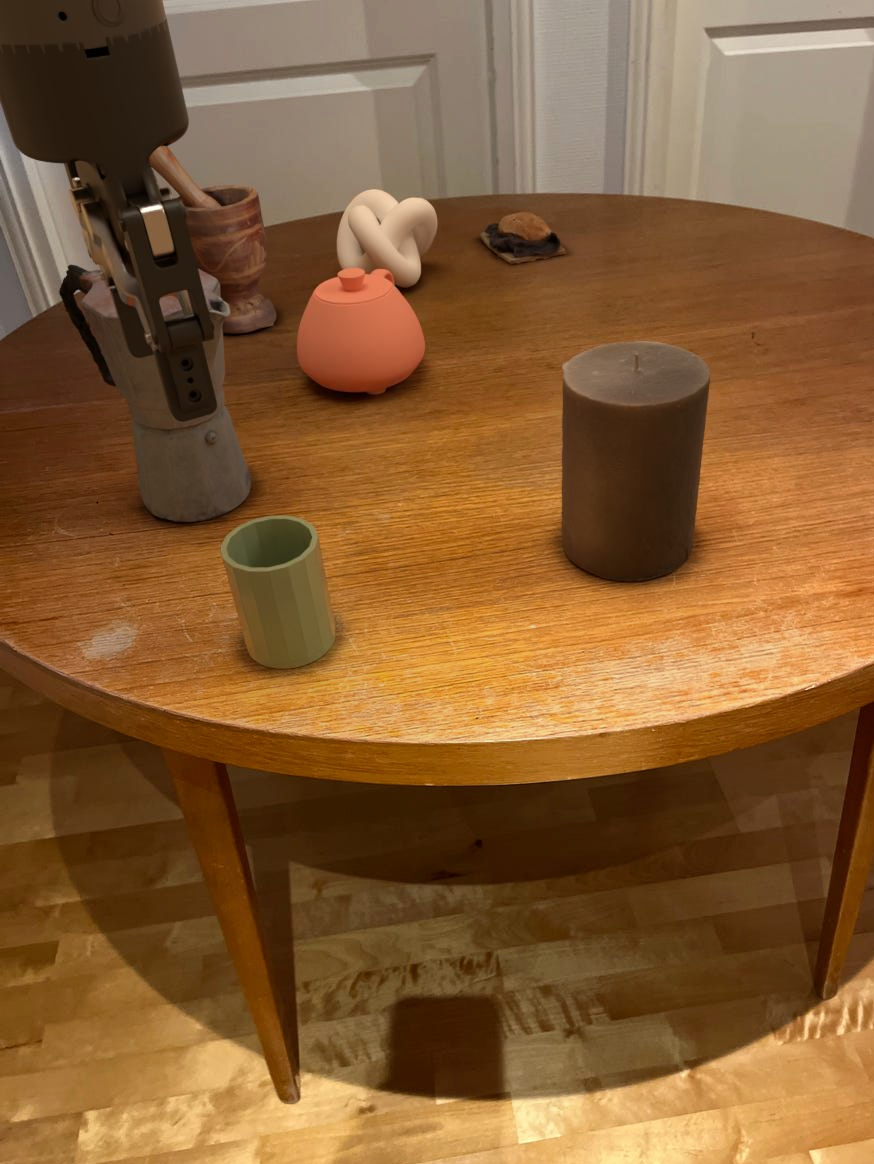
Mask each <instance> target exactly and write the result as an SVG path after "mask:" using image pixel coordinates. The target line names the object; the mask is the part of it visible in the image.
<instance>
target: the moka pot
mask: <svg viewBox="0 0 874 1164" xmlns="http://www.w3.org/2000/svg"><path fill="white" fill-rule="evenodd" d="M99 271H100V269H94V270H87V269H85V268H83V267H81V266H79V265H76V264H69V265H67V269H66V271H65V276H64V278H63V279H62V283H61V284H60V287H59V290H58V292H59V293H58V294H59V297H60V298H61V300H62V302H63V307H64V308H65V311H66V312H67V314H68V316H69V318H70V321H71V323H72V324H73V325H74V327H75V329H76V330H78V331H77V332H78V334H79V335H80V337H81V340H82V341H83V342H84V344H85V346H86V348H87V350H88V351H89V352H90V354H91V356H92V359H93V362H94V363H95V364H96V365H97V368H98V371H99V373H100V374H101V377H102V380H103V382H104V383H106V384H107V385H108V386H111V387H115V388H116V390H117V392H118V394H119V395H121V396H122V397H123V398H124V399H125V400H126V403H127V407H128V410H129V413H130V415H131V417H132V418H131V421H130V422H131V430H132V431H131V432H132V439H133V444H134V445H133V446H134V453H135V460H136V470H137V477H138V478H137V479H138V489H139V494H140V499H141V500H142V502H143V504H144V507H146V509H147V510H148V512H150V514H152V515H154V516H156V517H158V518H160V519H164V520H167V521H173V522H175V523H177V522H178V523H192V522H193V523H194V522H200V521H201V522H202V521H207V520H212V519H216V518H219V517H221V516H224V515H226V514H227V513H230V512H231V511H233V510H235V509H236V508H237V507H239V506H240V505H241V504H242V503H243V502H244V501H246V499H247V498H248V496H249V494H250V492H251V488H252V482H253V480H252V476H251V472H250V470H249V466H248V463H247V460H246V458H245V455H244V453H243V451H242V446H241V444H240V441H239V439H238V435H237V433H236V429H235V427H234V424H233V421H232V418H231V415H230V412H229V410H228V407H227V405H226V404H225V402H226V397H225V392H224V386H223V383H224V381H225V377H226V359H225V345H224V344H225V343H224V333H223V330H222V326H223V322H224V319H225V317H227V316H229V315H231V311H230V307H229V305H228V303H226V302H225V301H223V300H222V298H221V294H220V284H219V281H218V280H217V279H216V278H215V277H213V276H211V275H209V274H207V273H205V272H203V271H202V270H200V269H198V271H199V275H200V279H201V283H202V287H203V291H204V295H205V299H206V303H207V307H208V311H209V315H210V319H211V320H212V322H213V324H214V328H215V331H214V339H213V340H209V341H205V342H202V344H203V348H204V352H205V356H206V360H207V364H208V368H209V372H210V376H211V380H212V384H213V388H214V393H215V397H216V401H217V408H216V410H215V412H213V413H212V414H210V415H206V416H203V417H199V418H196V419H192V420H188V421H185V422H180V421H178V420H176V419H175V418H174V416H173V415H172V413H171V412H170V410H169V407H168V403H167V400H166V396H165V393H164V389H163V386H162V382H161V379H160V375H159V371H158V368H157V364H156V361H155V357H154V355H151V356H147V357H143V358H136V357H134V356H133V355H132V354H131V353H130V351H129V350H128V348H127V345H126V342H125V339H124V335H123V332H122V329H121V325H120V322H119V319H118V315H117V312H116V309H115V305H114V302H113V299H112V295H111V292H110V289H111V288H115V286H111V287H106V285H105V283H104V281H102V280H101V278H100V275H99ZM77 291H80V292H82V293H83V294H84V295H85V296H84V297H83V299H81V307H82V309H83V310H81V308H80V307H79V306H78V302H77V300H76V298H75V293H76V292H77ZM159 303H160V306H161V310H162V314H163V317H164V320H168V319H173V318H177V317H181V316H184V314H183V311H182V308H181V306H180V303H179V300H178V299H177V298H176V297H175V296H167V297H163V298H160V301H159ZM83 312H84V313H83ZM86 319H87V320H86Z"/></svg>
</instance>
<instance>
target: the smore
mask: <svg viewBox="0 0 874 1164" xmlns="http://www.w3.org/2000/svg"><path fill="white" fill-rule="evenodd" d="M479 237H480V240H482V242H483V244H485V246H487V248H488V249H490V251H492V253H494V254H496V255H497V257H498V258H501V259H502V260H504V261H505V263H509V264H510V265H513V264H517V265H519V264H521V263H525V262H526V263H527V262H535V261H536V260H540V259H542V260H543V259H544V260H545V259H549V258H551V257H556V256H557V257H558V256H560V255H565V254H566V252H567V251H566V249H565V247H563V245H562V244H561V239H560V238H559V237H558V235H557V233H556V232H553V231H552V230H551V229H550V227H549V226H548V225H547V223H546V222H545V221H544V220H543V219H542V218H541V217H540V216H538V214H534V213H532V212H528V211H520V212H516V213H513V214H508V215H505V216H504V217H502V218H501V219H499V221H498V222H496V223H495V222H493V223H491V224H490V223H489V224H488V225H487V227H486V228H485V229H484V231H482V232H480V234H479Z"/></svg>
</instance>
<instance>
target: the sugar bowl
mask: <svg viewBox="0 0 874 1164" xmlns="http://www.w3.org/2000/svg"><path fill="white" fill-rule="evenodd" d="M300 319H301V320H300V323H299V327H298V330H297V338H296V354H297V355H296V357H297V362H298V365H299V366H300V368H301V370H302V371H303V372H304V373H305V374H306V375H307V376H308V377H309V378H310V379H311V380H313V381H314V382H316V383H317V384H318V385H320V386H322V387H323V388H325V389H329V390H332V391H338V392H345V393H364V392H365V393H367V394H368V395H381V394H383V393H385V392H386V390H387V388H390V387H392V386H395V385H397V384H399V383H401V382H403V381H404V380H406V379H407V378H409V377H410V376H411V374H412V373H413V372H415V370H416V369H417V367H418V366H419V364H420V363H421V361H422V360H423V358H424V356H425V352H426V342H425V341H426V340H425V336H424V332H423V328H422V327H421V324H420V321H419V319H418V317H417V315H416V313H415V311H414V310H413V308H412V306H411V305H410V303H409V302H408V300H407V299H406V298H405V297H404V296H403V294H402V293H401V291H400V290H399V289H398V288H397V286H396V285H395V284H394V278H393V275H392V274H391V272H389V271H388V270H385V269H376V270H374V271H373V272H372V273H371V274H365V271H364V270H363V269H360V268H347V269H344V270H342V269H341V270H340V271H339V272H337V276H336V277H332V278H330V279H327V280H325V281H323V282H321V283H320V284H318V286H316V288H314V290H313V291H312V294H311V295H310V298H309V300H308V302H307V304H306V306H305V309H304V311H303V314H302V317H301V318H300Z"/></svg>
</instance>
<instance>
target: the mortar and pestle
mask: <svg viewBox="0 0 874 1164" xmlns="http://www.w3.org/2000/svg"><path fill="white" fill-rule="evenodd" d="M149 159H150V166H151V168H152V170H153V171H155V172H156V173H157V174H158V175H159V176H161V177H162V178H163V179H164V180H165V182H166V183H168V185H169V186H170V187H172V189H173V190H174V191H175V192H176V193H177V194H178V197H176V198H178V200H179V201H180V203H181V206H183V207H184V209H185V211H186V215H187V219H186V223H187V227H188V231H189V235H190V239H191V243H192V247H193V251H194V255H195V259H196V263H197V267H198V269H200V270H202V271H203V272H205V273H207V274H209V275H211V276H213V277H215V278H216V279H217V280H218V281H219V284H220V294H221V298H222V300H223V301H225V302H226V303H228V305H229V307H230V311H231V315H229V316H227V317H225V319H224V322H223V326H222V330H223V334H244V333H250V332H254V331H258V330H261V329H264V328H268V327H273V326H274V323H275V322H276V321H277V316H278V315H277V311H276V309H275V307H274V304H273V302H272V300H271V299H269V298H268V297H266V295H263V293H262V292H260V291H259V281H260V279H261V277H262V275H263V274H264V272H265V271H266V266H267V253H268V251H267V248H268V247H267V245H268V244H267V235H266V229H265V225H264V220H263V219H264V218H263V215H262V208H261V202H260V196H259V193H258V191H257V189H256V188H253V187H251V186H247V185H235V184H224V185H215V186H209V187H204V188H200V187H199V186H198V185H197V183H195V181H194V180H193V178H191V176H190V175H189V173H188V172H187V171H186V170H185V169H184V167H183V166H182V165H181V163H180V162H179V160H178V159H177V157H176V156H175V155H174V152H173V151H172V150H171V148H170V146H169V145H168V146H160V147H158V148H157V149H156V150H155V151H154V152H153V153H152V154H151V156H150V158H149Z"/></svg>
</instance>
